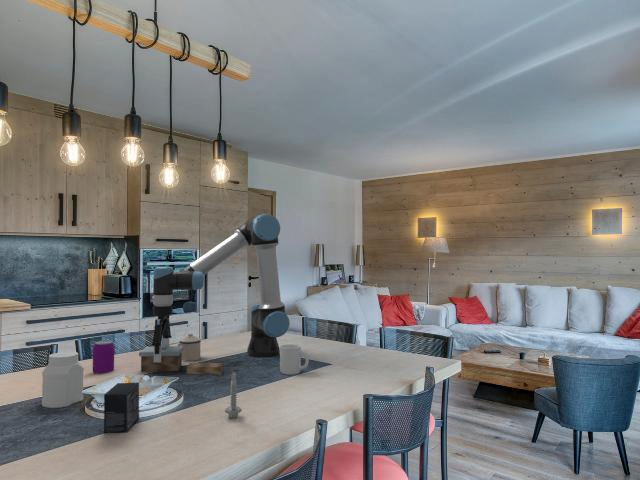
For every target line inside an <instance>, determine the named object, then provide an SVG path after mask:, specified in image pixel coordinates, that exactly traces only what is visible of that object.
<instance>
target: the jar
mask: <svg viewBox="0 0 640 480" xmlns="http://www.w3.org/2000/svg"><path fill="white" fill-rule="evenodd" d="M84 369H85V367H84V366H83V364H81V362H80V361H79V353H78V352H77V351H61V352H60V351H59V352H55V353H51V354H49V355H48V364H47V365H46V366H45V368H44V369H43V370H42V373H41V375H42V384H41V385H42V387H41V388H42V390H41V392H42V394H41V406H42V407H43V408H49V409H56V408H57V409H58V408H65V407H70V406H71V405H73V404H75V403H79V402H82V401H84V372H85V370H84ZM82 391H83V393H82Z"/></svg>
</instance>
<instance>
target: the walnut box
mask: <svg viewBox="0 0 640 480" xmlns="http://www.w3.org/2000/svg"><path fill="white" fill-rule="evenodd" d="M182 362H183V361H182V352H181V354H180V355H179V356H161V362H154V356H140V372H143V373H145V372H148V373H149V372H174V371H175V372H178V371H179V370H180V369H181V367H182V365H183V364H182Z"/></svg>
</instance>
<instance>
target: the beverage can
mask: <svg viewBox="0 0 640 480" xmlns="http://www.w3.org/2000/svg"><path fill="white" fill-rule="evenodd" d="M114 370H115V344H114V342H113V341H112V340H99V341H96V342H94V345H93V348H92V373H94V375H95V374H107V373H112V372H113V371H114Z"/></svg>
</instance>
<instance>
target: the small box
mask: <svg viewBox="0 0 640 480" xmlns="http://www.w3.org/2000/svg"><path fill="white" fill-rule="evenodd" d="M139 388H140V382H117V383H116V384H115V385H114V386H113V387H111V388H110V389H109V390H108V391H107V392H106V393H105V394H103V433H104V434H122V433H123V434H126V433H128V432H129V431H130V430H131V429H132V428H133V426H134V425H135V424H136V423H137V422H138V420H139V419H140V389H139Z"/></svg>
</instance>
